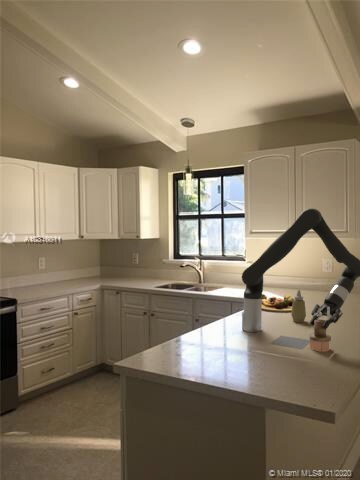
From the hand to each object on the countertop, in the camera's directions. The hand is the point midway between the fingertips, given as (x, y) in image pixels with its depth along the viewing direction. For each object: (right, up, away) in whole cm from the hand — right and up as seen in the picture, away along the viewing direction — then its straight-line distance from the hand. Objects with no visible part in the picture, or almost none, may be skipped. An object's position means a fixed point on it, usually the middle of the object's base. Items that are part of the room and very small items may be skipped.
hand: (317, 326), depth 178 cm
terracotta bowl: (+1, -11, +1) cm, 11 cm away
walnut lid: (+2, -6, +1) cm, 6 cm away
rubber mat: (-9, -10, +11) cm, 18 cm away
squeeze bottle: (+7, -9, +53) cm, 54 cm away
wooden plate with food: (+4, -8, +92) cm, 92 cm away
